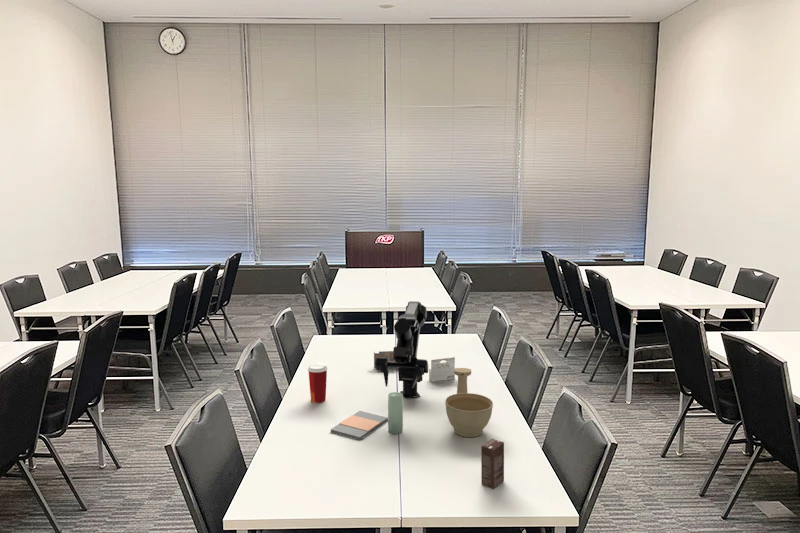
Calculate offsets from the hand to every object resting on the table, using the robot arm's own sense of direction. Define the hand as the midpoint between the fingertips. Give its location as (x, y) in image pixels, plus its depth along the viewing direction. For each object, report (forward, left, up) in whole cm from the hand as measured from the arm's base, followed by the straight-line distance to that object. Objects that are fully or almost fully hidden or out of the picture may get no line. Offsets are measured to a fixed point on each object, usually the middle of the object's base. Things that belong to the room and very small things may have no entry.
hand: (399, 386), depth 208 cm
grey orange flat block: (0, -14, -13) cm, 19 cm away
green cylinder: (+7, -3, -13) cm, 15 cm away
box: (+47, +15, -13) cm, 51 cm away
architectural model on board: (-57, +10, -14) cm, 60 cm away
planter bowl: (+14, +21, -13) cm, 28 cm away
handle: (-5, +26, -13) cm, 30 cm away
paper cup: (-27, -25, -13) cm, 39 cm away
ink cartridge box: (-36, +29, -13) cm, 48 cm away
